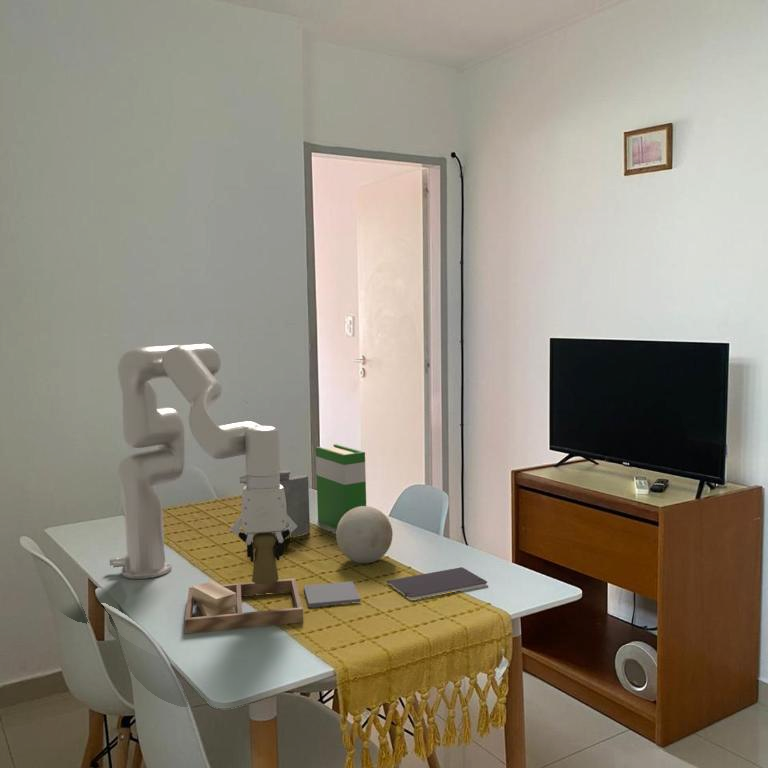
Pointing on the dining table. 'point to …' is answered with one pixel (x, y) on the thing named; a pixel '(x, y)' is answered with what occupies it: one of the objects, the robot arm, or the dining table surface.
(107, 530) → the dining table surface
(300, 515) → the hip flask
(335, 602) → the rubber mat
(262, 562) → the cork
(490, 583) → the dining table surface
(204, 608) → the block
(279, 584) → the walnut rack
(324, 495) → the hardback book
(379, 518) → the decorative sphere
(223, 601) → the top offcut
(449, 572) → the notebook
